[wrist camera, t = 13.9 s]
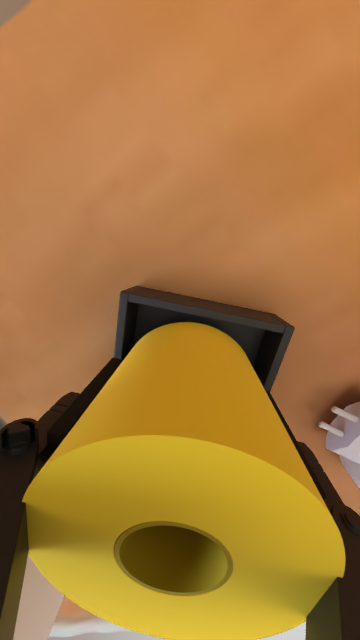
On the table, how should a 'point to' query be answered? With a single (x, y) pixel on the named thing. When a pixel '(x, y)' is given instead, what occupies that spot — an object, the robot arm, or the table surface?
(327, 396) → the table surface
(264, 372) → the rack
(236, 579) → the tape roll
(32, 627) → the white notched cylinder
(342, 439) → the charger
